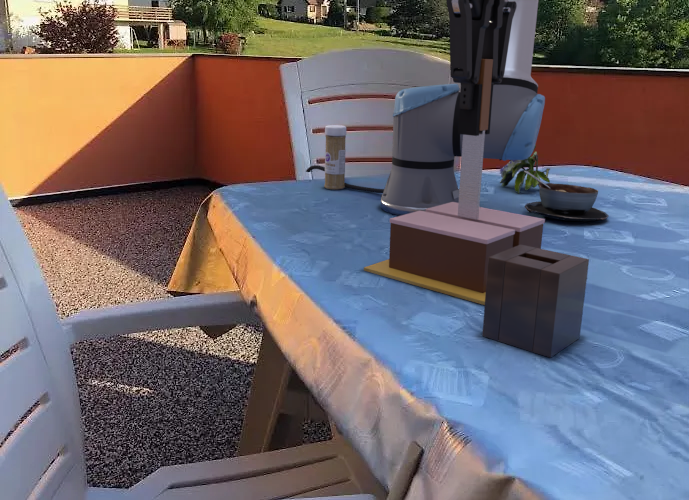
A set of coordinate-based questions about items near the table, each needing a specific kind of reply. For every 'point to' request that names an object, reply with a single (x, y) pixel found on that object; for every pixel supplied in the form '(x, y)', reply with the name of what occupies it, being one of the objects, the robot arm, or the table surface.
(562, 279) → the knife block
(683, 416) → the table surface
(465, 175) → the knife
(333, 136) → the sprinkles bottle
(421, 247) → the cake
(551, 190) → the soup bowl
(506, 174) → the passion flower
